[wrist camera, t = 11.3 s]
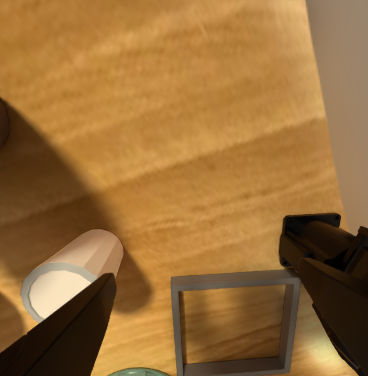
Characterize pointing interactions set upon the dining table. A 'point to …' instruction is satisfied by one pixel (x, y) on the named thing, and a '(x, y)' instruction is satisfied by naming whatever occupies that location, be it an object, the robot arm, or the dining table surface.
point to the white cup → (70, 272)
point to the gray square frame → (237, 369)
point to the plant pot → (3, 125)
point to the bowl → (139, 372)
